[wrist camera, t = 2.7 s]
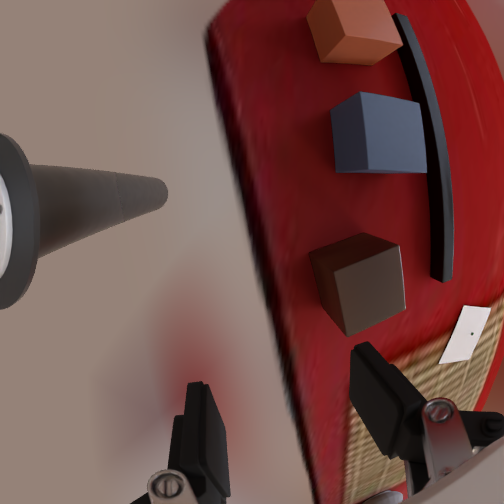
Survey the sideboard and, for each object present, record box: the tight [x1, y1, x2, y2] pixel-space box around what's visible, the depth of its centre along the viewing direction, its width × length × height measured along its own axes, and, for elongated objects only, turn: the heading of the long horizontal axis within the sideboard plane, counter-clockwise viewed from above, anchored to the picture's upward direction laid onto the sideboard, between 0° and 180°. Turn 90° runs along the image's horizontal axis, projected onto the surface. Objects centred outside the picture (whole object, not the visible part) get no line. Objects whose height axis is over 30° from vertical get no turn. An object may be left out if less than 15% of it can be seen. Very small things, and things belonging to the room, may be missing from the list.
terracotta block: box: [306, 0, 403, 66], centre depth 14 cm, size 5×5×5 cm
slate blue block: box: [330, 91, 427, 174], centre depth 17 cm, size 5×5×5 cm
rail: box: [391, 13, 454, 283], centre depth 19 cm, size 2×26×2 cm, turn 10°
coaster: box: [439, 306, 491, 364], centre depth 25 cm, size 8×8×1 cm
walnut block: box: [309, 233, 406, 337], centre depth 19 cm, size 5×5×5 cm
